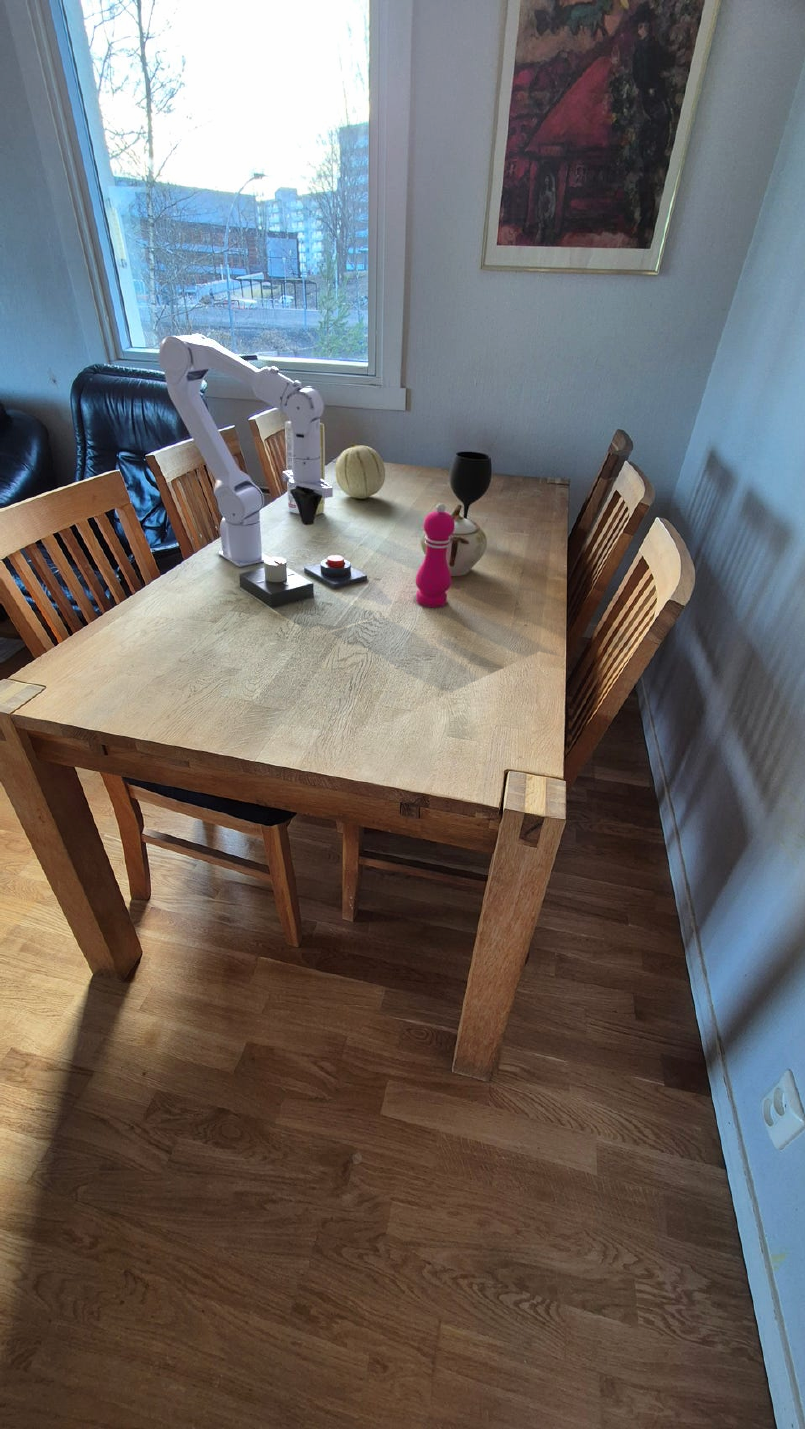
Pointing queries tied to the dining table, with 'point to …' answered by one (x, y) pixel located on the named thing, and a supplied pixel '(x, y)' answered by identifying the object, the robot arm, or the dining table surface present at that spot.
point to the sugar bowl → (462, 545)
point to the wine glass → (470, 477)
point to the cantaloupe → (360, 471)
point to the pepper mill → (435, 559)
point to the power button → (335, 561)
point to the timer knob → (275, 569)
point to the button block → (335, 574)
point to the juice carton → (291, 501)
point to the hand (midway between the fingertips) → (308, 523)
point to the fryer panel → (276, 587)
